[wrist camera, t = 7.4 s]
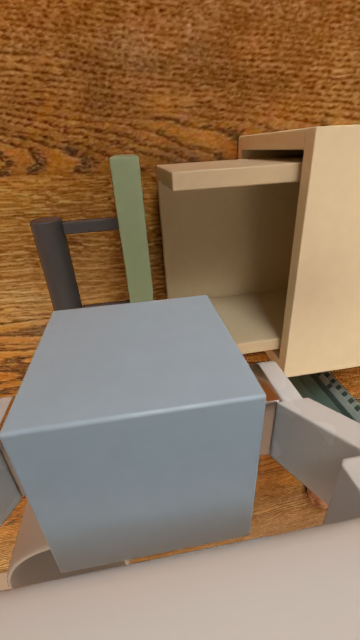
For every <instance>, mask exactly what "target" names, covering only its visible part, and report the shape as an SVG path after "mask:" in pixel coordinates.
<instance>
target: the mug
mask: <svg viewBox="0 0 360 640" xmlns="http://www.w3.org/2000/svg"><path fill="white" fill-rule="evenodd" d="M129 564H130V560H125V561H120V562H115V563H110V564H105V565H100V566H95V567H90V568H85V569H80V570H75V571H70V572H66V573H62V572H60V570H59V567H58V565H57V563H56V561H55V559H54V556H53V554H52V552H51V550H50V548H49V545H48V543H47V541H46V539H45V537H44V534H43V532H42V530H41V528H40V526H39V523H38V521H37V519H36V517H35V515H34V512H33V510H32V508H31V506H30V504H29V501H28V499H27V502H26V505H25V509H24V513H23V516H22V520H21V524H20V527H19V531H18V535H17V538H16V542H15V546H14V549H13V553H12V557H11V560H10V564H9V569H8V573H7V582H8V585H9V587H10V589H12V588H17V587H22V586H27V585H32V584H36V583H41V582H46V581H51V580H56V579H61V578H66V577H71V576H75V575H80V574H85V573H90V572H95V571H100V570H104V569H109V568H114V567H119V566H124V565H129Z"/></svg>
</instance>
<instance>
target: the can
mask: <svg viewBox="0 0 360 640" xmlns="http://www.w3.org/2000/svg"><path fill="white" fill-rule="evenodd" d="M287 378H288V379H289V380H290V382H291V383H292V384H293V386H294V387H295V388H296V390H297V391H298V392H299V394H300V395H301V396H302V398H310V399H312V400H314V401H316V402H318V403H320V404H322V405H324V406H326V407H328V408H330V409H332V410H334V411H336V412H338V413H340V414H342V415H344V416H346V417H348V418H350V419H352V420H354V421H356V422H358V423H360V404H359V403H358V402H357V401H356V400H355V398H354V397H353V396H352V395H351V394H350V393H349V392H348V391H347V390H346V389H345V388H344V387H343V386H342V385H341V383H340V382H339V381H338V380H337V379H336V378H335V377H334V376H333V375H332V374H331V373H330V372H329V371H326V372H319V373H313V374H306V375H300V376H293V377H287Z"/></svg>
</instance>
